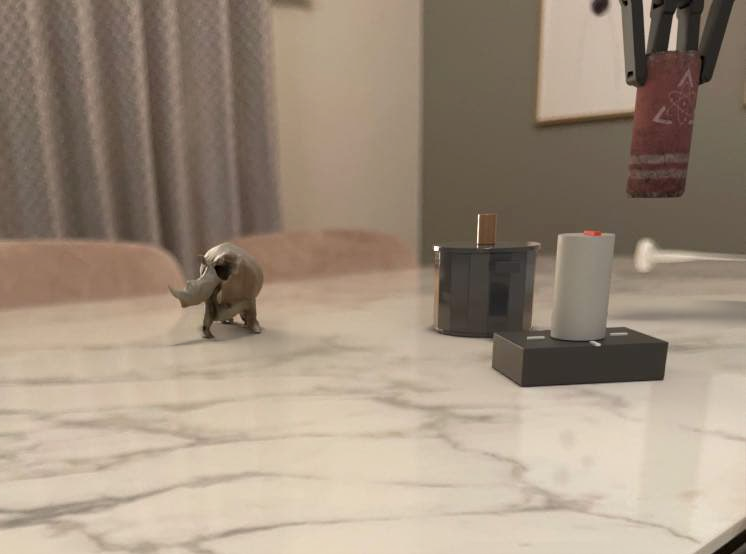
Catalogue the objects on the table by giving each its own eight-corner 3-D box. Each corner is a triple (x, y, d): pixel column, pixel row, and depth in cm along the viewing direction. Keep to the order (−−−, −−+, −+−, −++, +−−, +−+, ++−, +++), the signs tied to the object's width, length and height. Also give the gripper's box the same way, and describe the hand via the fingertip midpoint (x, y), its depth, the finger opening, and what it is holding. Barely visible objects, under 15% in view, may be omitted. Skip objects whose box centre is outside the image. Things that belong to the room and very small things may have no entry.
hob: (619, 360, 76) (623, 324, 75) (665, 380, 68) (671, 340, 67) (490, 366, 75) (492, 329, 74) (522, 387, 67) (525, 347, 66)
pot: (506, 316, 101) (510, 242, 98) (554, 339, 87) (561, 253, 83) (419, 320, 100) (420, 245, 97) (453, 343, 85) (456, 256, 82)
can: (688, 196, 95) (707, 53, 89) (677, 197, 90) (696, 46, 84) (633, 196, 98) (648, 58, 92) (619, 198, 93) (634, 51, 87)
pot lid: (519, 249, 96) (522, 210, 95) (556, 257, 86) (559, 214, 84) (421, 252, 95) (422, 213, 93) (446, 261, 84) (447, 217, 83)
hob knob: (542, 333, 72) (550, 229, 69) (591, 331, 73) (601, 228, 69) (562, 341, 68) (571, 232, 65) (614, 339, 69) (625, 231, 65)
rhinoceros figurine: (283, 295, 103) (252, 189, 91) (275, 380, 96) (241, 278, 84) (221, 302, 104) (182, 198, 92) (209, 386, 97) (165, 286, 85)
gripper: (736, -93, 87) (703, 158, 96) (604, -94, 85) (583, 161, 95) (779, -117, 80) (739, 156, 89) (637, -118, 79) (611, 159, 88)
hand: (659, 158), depth 92 cm, fingers closed on can
